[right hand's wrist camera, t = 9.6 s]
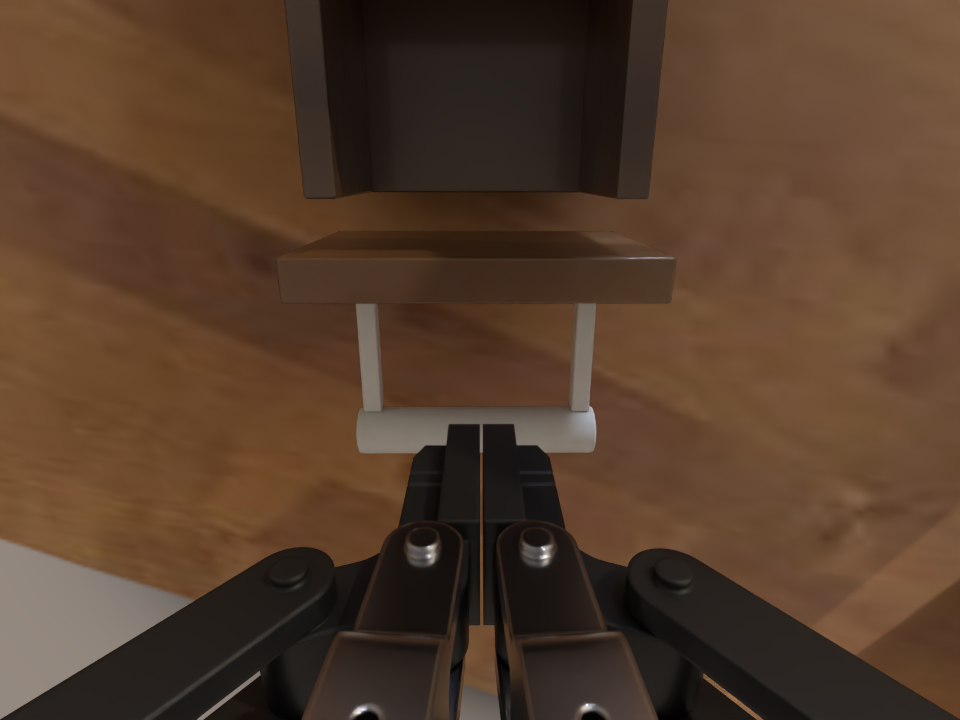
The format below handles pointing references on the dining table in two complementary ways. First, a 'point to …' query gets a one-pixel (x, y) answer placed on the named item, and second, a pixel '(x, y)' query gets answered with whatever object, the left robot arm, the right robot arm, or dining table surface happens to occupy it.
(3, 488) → the dining table surface
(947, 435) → the dining table surface
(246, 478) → the dining table surface
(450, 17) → the drawer
